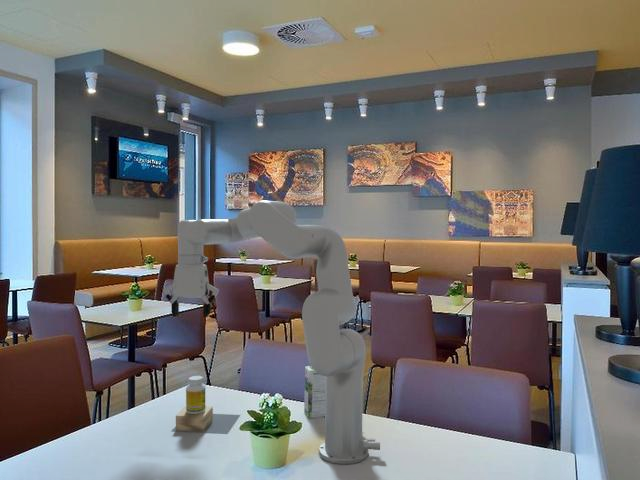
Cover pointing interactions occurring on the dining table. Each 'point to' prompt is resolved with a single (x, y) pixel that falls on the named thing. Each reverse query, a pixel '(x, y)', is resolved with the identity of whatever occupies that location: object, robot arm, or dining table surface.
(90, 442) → the dining table surface
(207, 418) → the oak block
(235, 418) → the mat
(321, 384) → the syrup box
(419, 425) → the dining table surface
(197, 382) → the supplement bottle
